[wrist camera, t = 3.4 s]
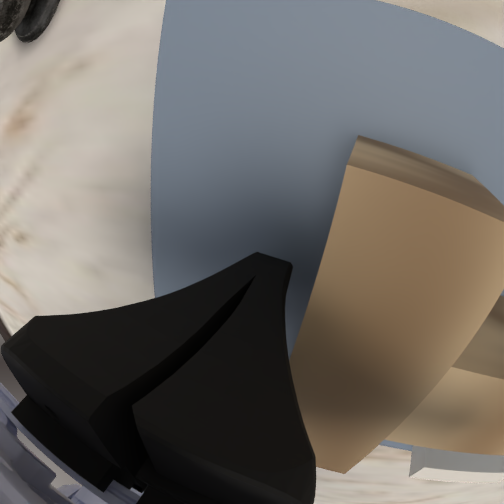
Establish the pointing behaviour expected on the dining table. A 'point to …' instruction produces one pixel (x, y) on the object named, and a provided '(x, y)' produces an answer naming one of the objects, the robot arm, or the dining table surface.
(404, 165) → the t block
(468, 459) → the dock
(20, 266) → the dining table surface
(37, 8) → the salt shaker
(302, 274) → the board
